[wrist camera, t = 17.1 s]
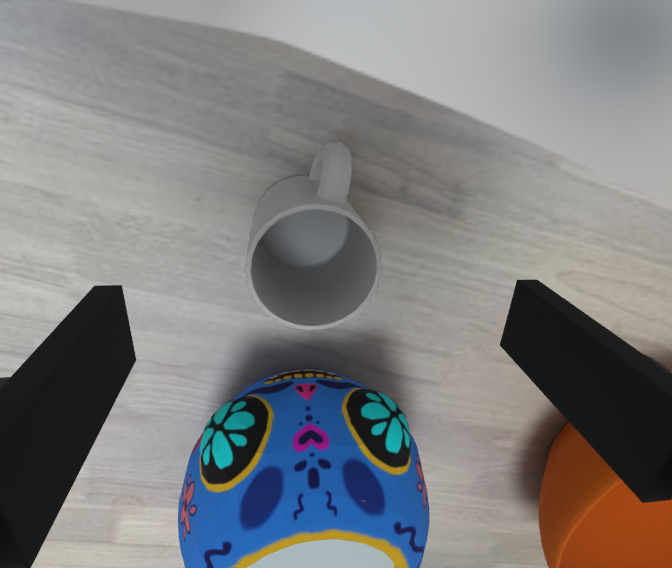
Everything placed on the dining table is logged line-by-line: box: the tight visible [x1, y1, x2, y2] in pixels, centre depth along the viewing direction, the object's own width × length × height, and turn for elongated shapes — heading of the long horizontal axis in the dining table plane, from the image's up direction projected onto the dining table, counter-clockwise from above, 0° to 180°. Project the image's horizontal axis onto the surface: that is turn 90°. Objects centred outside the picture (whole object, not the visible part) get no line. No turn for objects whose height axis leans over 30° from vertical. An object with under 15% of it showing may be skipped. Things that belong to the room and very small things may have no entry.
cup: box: [245, 141, 381, 330], centre depth 25 cm, size 7×10×9 cm
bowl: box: [539, 422, 672, 568], centre depth 40 cm, size 25×25×10 cm
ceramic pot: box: [178, 369, 429, 568], centre depth 30 cm, size 18×18×15 cm
